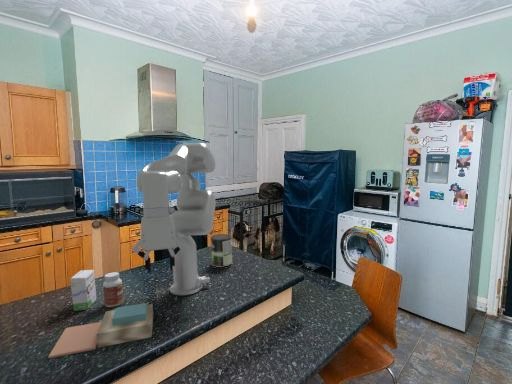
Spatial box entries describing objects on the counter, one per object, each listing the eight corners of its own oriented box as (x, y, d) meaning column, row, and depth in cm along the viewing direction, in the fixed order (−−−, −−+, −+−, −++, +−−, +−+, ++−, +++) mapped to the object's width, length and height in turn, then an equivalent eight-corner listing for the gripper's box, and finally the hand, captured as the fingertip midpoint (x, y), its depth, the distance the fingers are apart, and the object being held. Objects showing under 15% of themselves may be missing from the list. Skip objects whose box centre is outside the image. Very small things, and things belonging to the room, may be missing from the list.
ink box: (88, 309, 101) (85, 277, 100) (72, 311, 100) (69, 278, 99) (97, 298, 109) (94, 268, 108) (83, 300, 109) (80, 270, 108)
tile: (147, 308, 92) (146, 302, 92) (145, 319, 86) (145, 313, 85) (116, 313, 90) (115, 307, 89) (112, 325, 83) (112, 319, 83)
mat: (105, 322, 92) (105, 321, 92) (95, 349, 79) (95, 347, 79) (66, 329, 89) (65, 327, 89) (48, 358, 75) (48, 356, 75)
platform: (153, 315, 96) (152, 303, 95) (151, 337, 84) (150, 324, 83) (106, 323, 92) (105, 311, 91) (97, 347, 79) (96, 333, 79)
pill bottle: (121, 306, 103) (119, 276, 102) (102, 309, 101) (100, 278, 100) (125, 298, 109) (122, 270, 108) (107, 300, 107) (105, 272, 106)
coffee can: (212, 269, 137) (211, 240, 136) (210, 262, 147) (209, 235, 146) (234, 266, 139) (233, 238, 138) (230, 259, 149) (229, 233, 148)
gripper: (185, 208, 93) (188, 262, 95) (127, 212, 88) (132, 269, 90) (186, 212, 86) (190, 270, 88) (124, 216, 81) (129, 278, 83)
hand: (160, 269), depth 89 cm, fingers open, 5 cm apart
